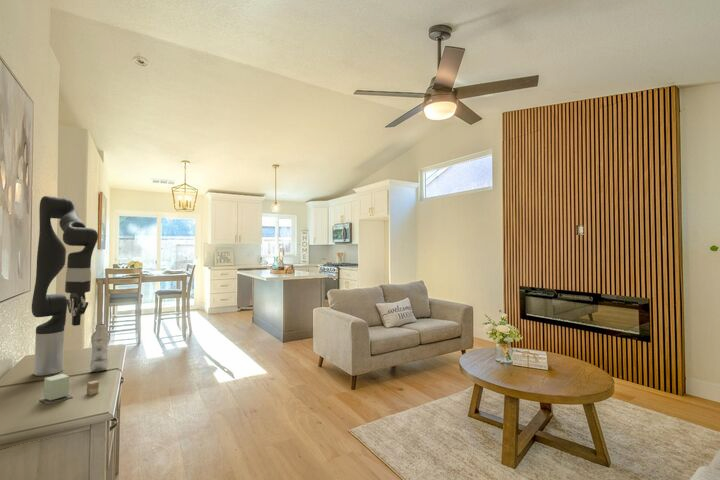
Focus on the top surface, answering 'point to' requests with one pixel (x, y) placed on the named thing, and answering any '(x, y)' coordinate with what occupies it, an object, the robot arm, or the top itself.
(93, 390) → the maple post
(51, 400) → the walnut post
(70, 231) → the robot arm
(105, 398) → the top surface
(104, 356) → the plastic bottle
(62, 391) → the pale green eraser block
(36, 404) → the top surface
